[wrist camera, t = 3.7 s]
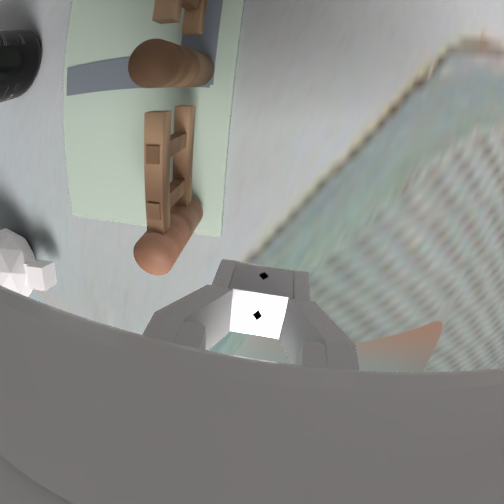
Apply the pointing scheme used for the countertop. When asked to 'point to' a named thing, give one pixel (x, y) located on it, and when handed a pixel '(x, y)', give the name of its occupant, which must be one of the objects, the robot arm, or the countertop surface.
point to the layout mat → (141, 107)
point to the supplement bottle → (18, 62)
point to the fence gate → (167, 189)
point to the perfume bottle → (23, 266)
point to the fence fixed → (172, 50)
